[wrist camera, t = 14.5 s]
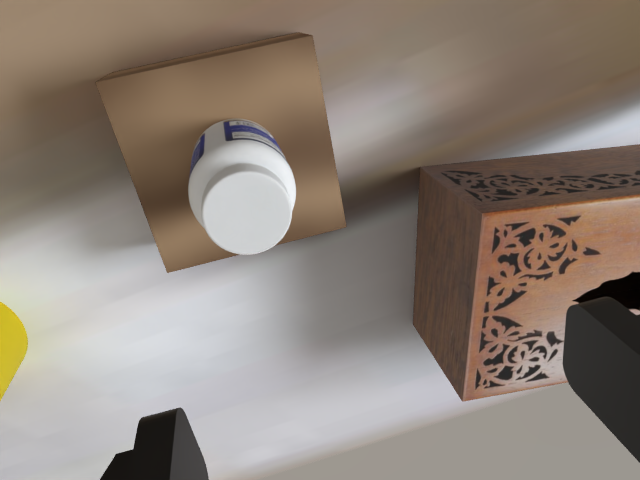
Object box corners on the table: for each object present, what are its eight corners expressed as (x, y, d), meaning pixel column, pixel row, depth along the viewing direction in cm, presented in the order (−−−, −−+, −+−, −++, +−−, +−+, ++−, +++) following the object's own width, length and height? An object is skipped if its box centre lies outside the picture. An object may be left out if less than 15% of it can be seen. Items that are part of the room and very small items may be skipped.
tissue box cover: (411, 322, 44) (462, 401, 35) (418, 166, 38) (482, 213, 29) (663, 283, 48) (766, 345, 39) (706, 136, 42) (840, 170, 33)
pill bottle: (227, 218, 31) (231, 289, 23) (173, 149, 28) (157, 202, 20) (298, 171, 30) (327, 227, 22) (249, 98, 28) (263, 132, 20)
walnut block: (112, 72, 31) (95, 82, 26) (298, 32, 32) (312, 35, 27) (173, 240, 36) (167, 272, 31) (330, 201, 37) (346, 227, 33)
